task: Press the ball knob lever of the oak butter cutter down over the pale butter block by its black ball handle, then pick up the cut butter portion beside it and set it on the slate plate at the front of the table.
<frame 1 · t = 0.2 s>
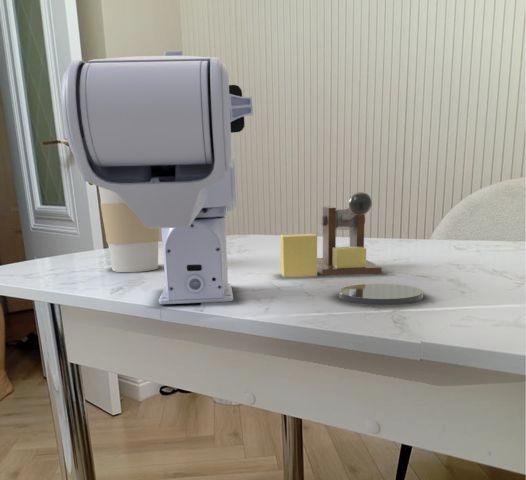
hand: (198, 116, 81), 21 cm above the table, tool horizontal, fingers open, 7 cm apart
ball knob lever: (351, 212, 78), point 8 cm above the table, hinge at 15.0°
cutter: (342, 269, 85), on the table
coffee cup: (135, 270, 91), on the table
plate: (380, 298, 64), on the table
butter block: (348, 273, 81), resting on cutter
butter portion: (298, 276, 80), on the table
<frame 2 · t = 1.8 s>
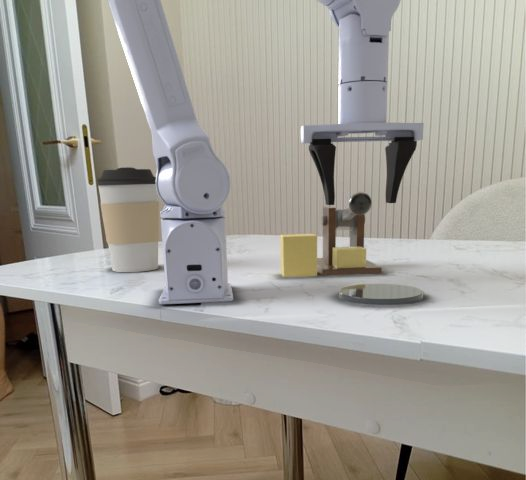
hand: (360, 203, 73), 10 cm above the table, tool pointing down, fingers open, 7 cm apart
nothing on the table moved.
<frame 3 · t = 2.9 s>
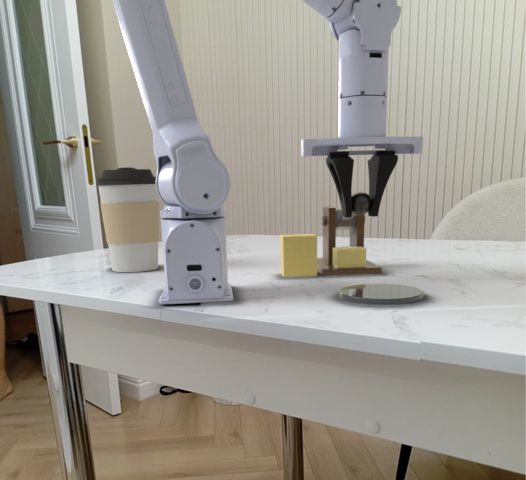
hand: (360, 216, 74), 8 cm above the table, tool pointing down, fingers closed on ball knob lever, 3 cm apart
ball knob lever: (351, 212, 78), point 8 cm above the table, hinge at 15.0°, touching gripper
everything else where it was.
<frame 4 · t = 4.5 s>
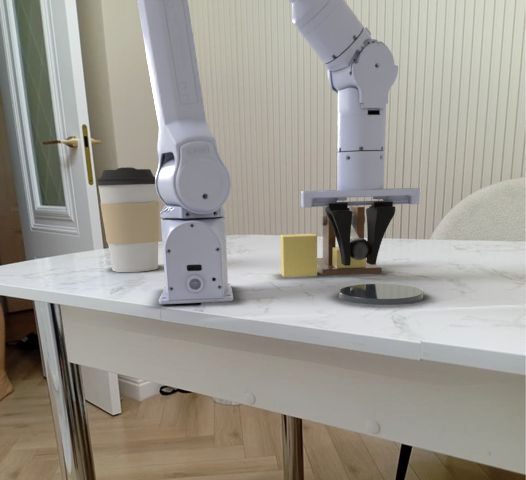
hand: (358, 264, 75), 2 cm above the table, tool pointing down, fingers closed on ball knob lever, 3 cm apart
ball knob lever: (350, 233, 79), point 5 cm above the table, hinge at -17.8°, touching gripper
everything else where it was.
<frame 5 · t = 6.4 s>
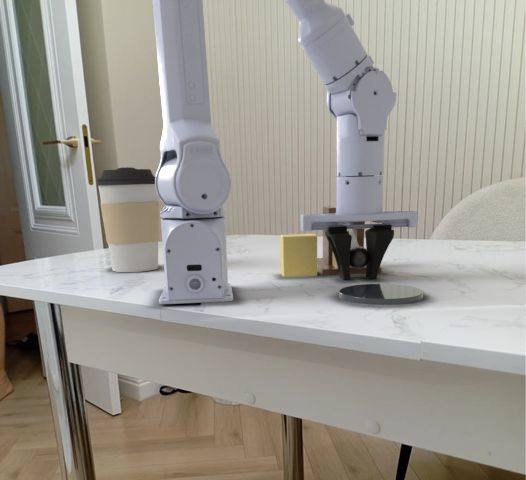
hand: (358, 285, 76), 0 cm above the table, tool pointing down, fingers open, 3 cm apart
ball knob lever: (350, 237, 79), point 5 cm above the table, hinge at -24.8°, touching gripper
everything else where it was.
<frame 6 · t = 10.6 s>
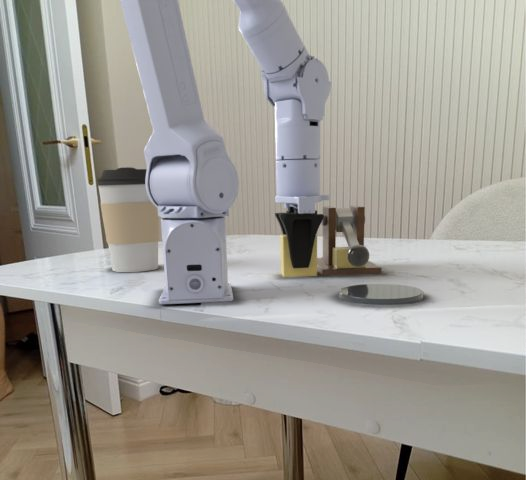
hand: (298, 265, 80), 1 cm above the table, tool pointing down, fingers closed on butter portion, 3 cm apart
ball knob lever: (350, 237, 79), point 5 cm above the table, hinge at -23.2°
butter portion: (298, 276, 80), on the table, touching gripper
everything else where it was.
when the fingers open (2 cm above the table, at t = 14.7 s): butter portion stays where it is, resting on plate.
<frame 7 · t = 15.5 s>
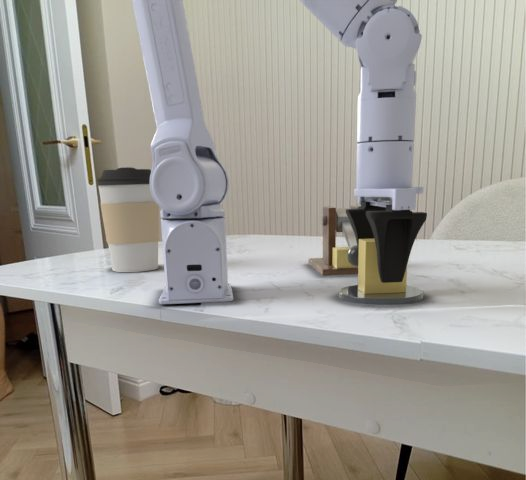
hand: (381, 276, 64), 2 cm above the table, tool pointing down, fingers open, 7 cm apart
butter portion: (381, 290, 64), point 1 cm above the table, touching plate
everything else where it was.
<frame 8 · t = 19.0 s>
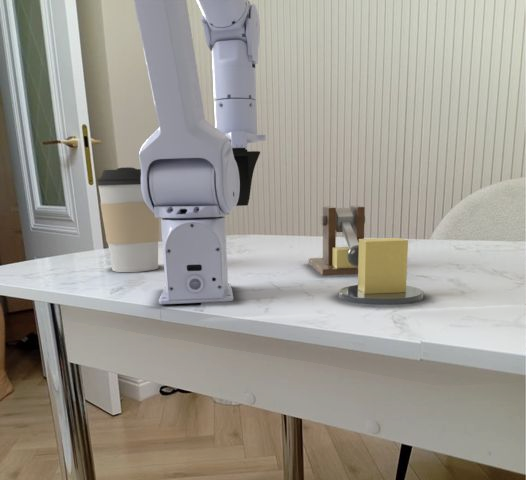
hand: (238, 204, 84), 9 cm above the table, tool pointing down, fingers open, 7 cm apart
nothing on the table moved.
at the end: ball knob lever at -23° (first picture: +15°); butter portion 0.1 cm off-centre on the plate, point 0.8 cm above the plate's base; butter portion tilted 0° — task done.
